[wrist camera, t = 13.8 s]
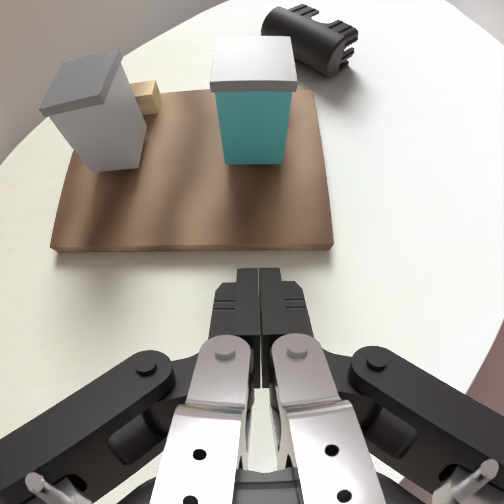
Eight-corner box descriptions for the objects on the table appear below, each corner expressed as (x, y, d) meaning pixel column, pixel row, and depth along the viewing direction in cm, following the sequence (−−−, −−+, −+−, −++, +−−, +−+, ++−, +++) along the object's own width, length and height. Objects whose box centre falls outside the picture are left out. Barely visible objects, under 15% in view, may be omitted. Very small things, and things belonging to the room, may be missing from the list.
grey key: (89, 174, 27) (39, 109, 18) (102, 131, 29) (63, 63, 19) (140, 169, 27) (99, 94, 18) (149, 124, 29) (119, 49, 19)
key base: (57, 252, 27) (32, 236, 23) (94, 112, 33) (80, 88, 29) (329, 249, 27) (342, 230, 23) (310, 98, 33) (316, 69, 28)
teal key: (222, 166, 27) (209, 81, 17) (225, 120, 29) (215, 36, 19) (285, 166, 27) (297, 81, 17) (281, 120, 29) (290, 36, 19)
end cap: (259, 54, 36) (260, 12, 29) (293, 35, 37) (297, -2, 31) (322, 88, 33) (331, 45, 27) (352, 67, 35) (363, 28, 29)
